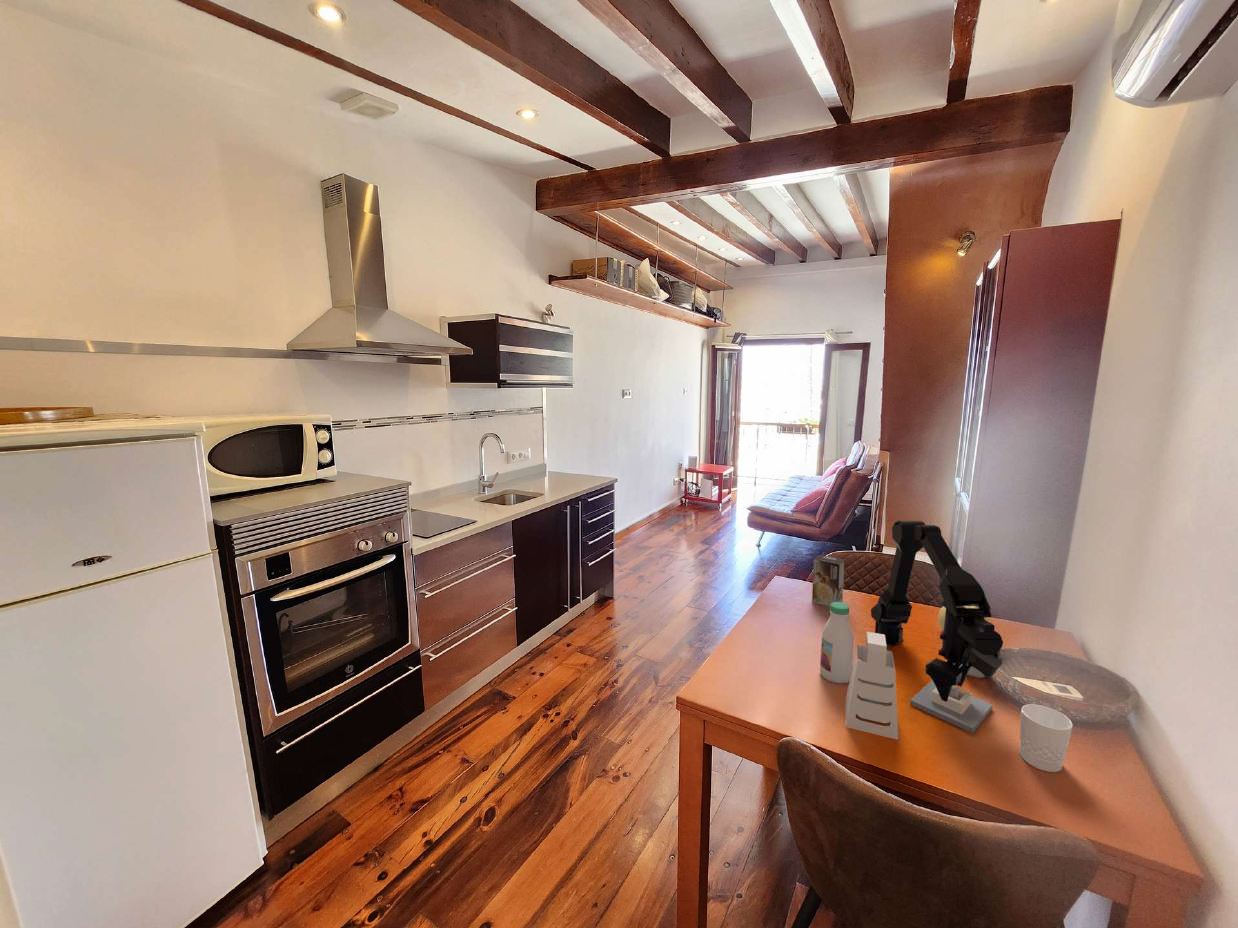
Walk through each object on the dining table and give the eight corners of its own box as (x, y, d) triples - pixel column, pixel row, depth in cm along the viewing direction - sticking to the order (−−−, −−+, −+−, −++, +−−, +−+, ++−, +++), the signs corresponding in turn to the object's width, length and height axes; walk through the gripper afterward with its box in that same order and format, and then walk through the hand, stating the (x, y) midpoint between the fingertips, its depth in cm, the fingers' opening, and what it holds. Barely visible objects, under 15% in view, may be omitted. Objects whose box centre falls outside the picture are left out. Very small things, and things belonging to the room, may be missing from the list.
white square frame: (931, 700, 120) (931, 691, 120) (941, 690, 124) (942, 681, 124) (961, 714, 115) (962, 704, 115) (971, 703, 119) (972, 693, 119)
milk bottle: (851, 671, 135) (856, 601, 132) (851, 687, 128) (856, 613, 125) (820, 665, 138) (824, 596, 135) (818, 680, 131) (822, 608, 128)
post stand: (909, 704, 121) (911, 684, 120) (931, 683, 129) (933, 665, 128) (972, 733, 111) (974, 711, 110) (992, 709, 119) (994, 689, 118)
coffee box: (843, 602, 176) (846, 559, 174) (837, 609, 171) (840, 564, 169) (817, 596, 182) (819, 553, 180) (810, 602, 177) (813, 558, 175)
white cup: (1006, 747, 106) (1011, 705, 105) (1040, 745, 107) (1046, 702, 105) (1040, 776, 99) (1046, 730, 97) (1076, 773, 99) (1083, 728, 98)
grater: (894, 710, 119) (900, 632, 115) (898, 739, 109) (905, 655, 106) (845, 700, 123) (850, 624, 120) (845, 726, 113) (851, 645, 110)
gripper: (985, 660, 105) (977, 727, 107) (1013, 632, 116) (1005, 693, 119) (927, 639, 113) (921, 702, 116) (958, 615, 125) (952, 672, 127)
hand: (951, 692), depth 119 cm, fingers open, 9 cm apart
